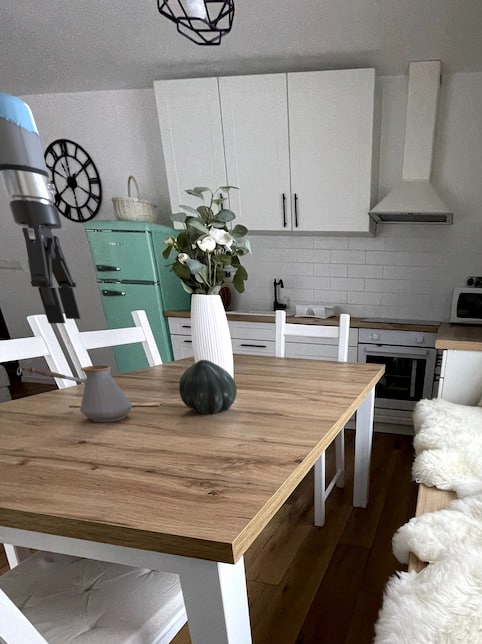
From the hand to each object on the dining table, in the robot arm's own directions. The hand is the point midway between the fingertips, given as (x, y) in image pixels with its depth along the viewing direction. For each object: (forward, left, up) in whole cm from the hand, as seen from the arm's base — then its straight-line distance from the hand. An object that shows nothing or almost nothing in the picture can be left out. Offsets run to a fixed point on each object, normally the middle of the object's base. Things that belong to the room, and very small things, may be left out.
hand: (65, 321), depth 85 cm
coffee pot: (-4, +5, -24) cm, 25 cm away
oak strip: (-4, +21, -24) cm, 32 cm away
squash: (+24, +15, -24) cm, 37 cm away
